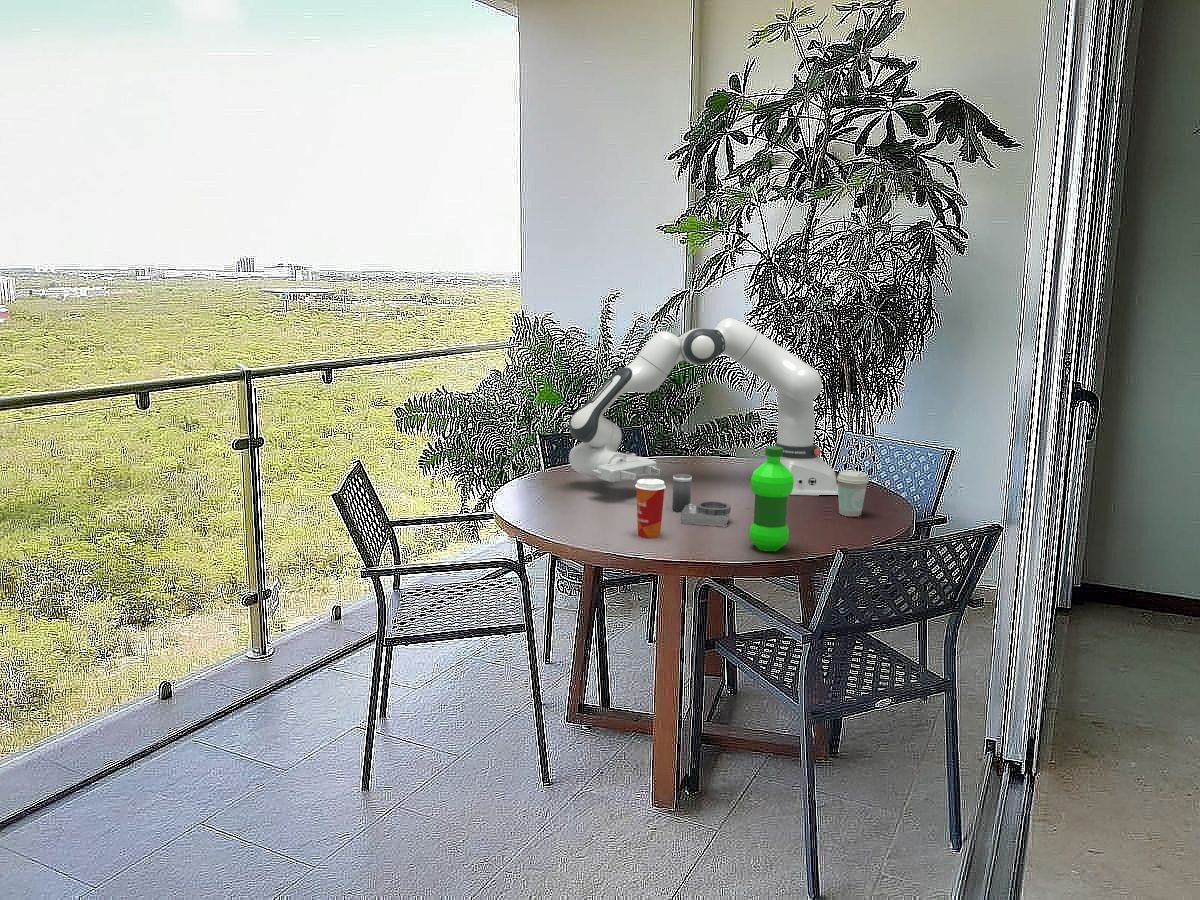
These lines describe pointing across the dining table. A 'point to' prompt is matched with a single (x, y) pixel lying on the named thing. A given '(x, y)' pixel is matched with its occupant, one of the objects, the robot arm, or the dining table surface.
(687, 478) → the lens
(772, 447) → the plastic bottle
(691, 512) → the camera body
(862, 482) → the coffee cup
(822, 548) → the dining table surface
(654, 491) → the paper cup
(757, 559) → the dining table surface
